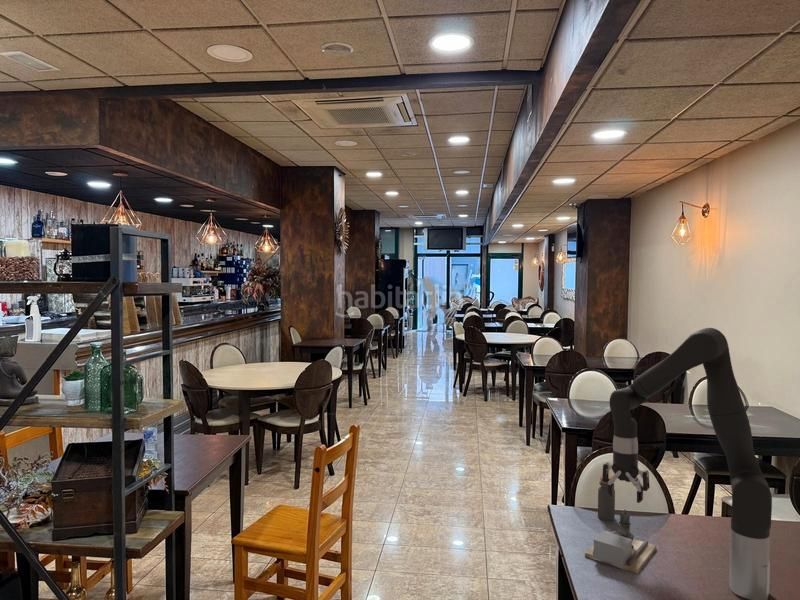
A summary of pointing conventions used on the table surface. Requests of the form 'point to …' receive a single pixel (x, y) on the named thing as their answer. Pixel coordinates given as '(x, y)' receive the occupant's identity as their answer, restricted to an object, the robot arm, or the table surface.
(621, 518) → the salt shaker
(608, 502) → the bottle
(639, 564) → the board
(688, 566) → the table surface
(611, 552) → the cover
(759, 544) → the robot arm
